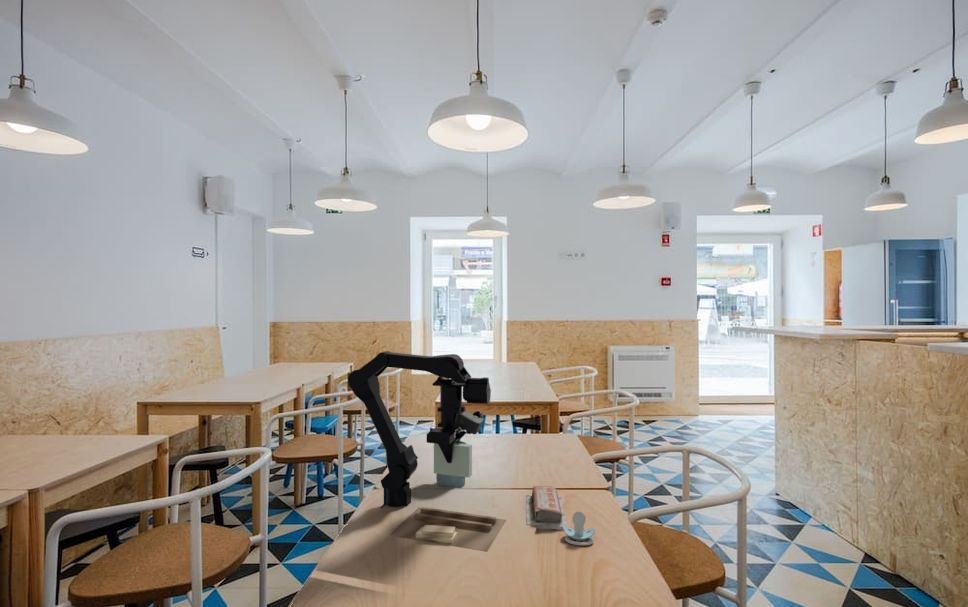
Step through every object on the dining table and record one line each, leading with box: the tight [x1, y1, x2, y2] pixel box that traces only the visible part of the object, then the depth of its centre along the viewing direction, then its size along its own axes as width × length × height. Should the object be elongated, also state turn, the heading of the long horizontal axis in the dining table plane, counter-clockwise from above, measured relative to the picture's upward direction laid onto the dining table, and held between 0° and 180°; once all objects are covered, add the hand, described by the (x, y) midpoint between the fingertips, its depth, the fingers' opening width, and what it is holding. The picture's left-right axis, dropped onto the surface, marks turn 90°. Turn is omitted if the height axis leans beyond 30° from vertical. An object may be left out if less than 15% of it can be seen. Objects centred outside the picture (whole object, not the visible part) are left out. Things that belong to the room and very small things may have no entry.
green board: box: [433, 443, 473, 479], centre depth 129 cm, size 10×2×8 cm, turn 72°
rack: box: [388, 506, 507, 552], centre depth 117 cm, size 24×16×2 cm, turn 72°
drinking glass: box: [435, 440, 468, 489], centre depth 147 cm, size 10×10×12 cm
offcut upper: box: [422, 525, 455, 537], centre depth 112 cm, size 7×3×1 cm, turn 82°
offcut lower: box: [416, 527, 458, 544], centre depth 112 cm, size 9×4×1 cm, turn 72°
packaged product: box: [525, 485, 568, 531], centre depth 127 cm, size 18×5×10 cm
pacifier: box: [562, 510, 596, 546], centre depth 113 cm, size 7×6×6 cm
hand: (451, 461), depth 129 cm, fingers closed on green board, 2 cm apart
